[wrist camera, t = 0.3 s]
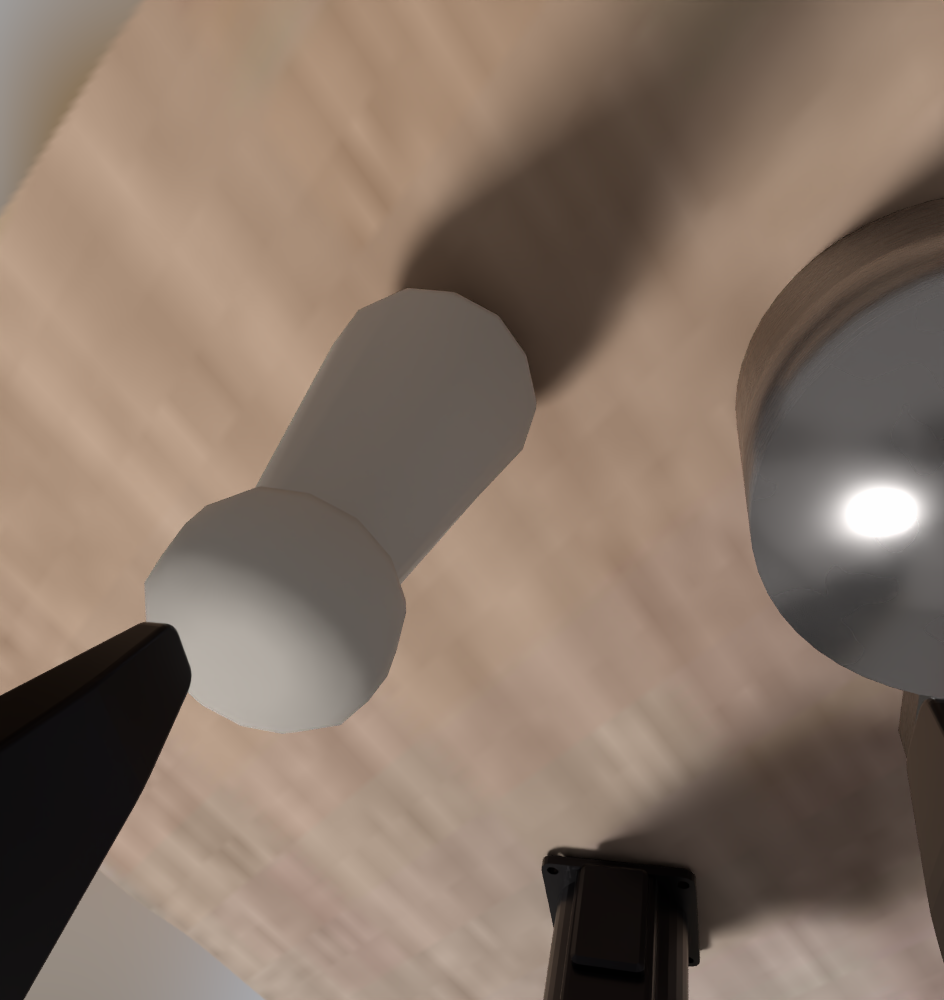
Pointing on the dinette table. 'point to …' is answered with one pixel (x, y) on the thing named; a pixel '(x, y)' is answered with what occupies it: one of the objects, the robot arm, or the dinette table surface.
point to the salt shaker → (344, 513)
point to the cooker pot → (855, 453)
